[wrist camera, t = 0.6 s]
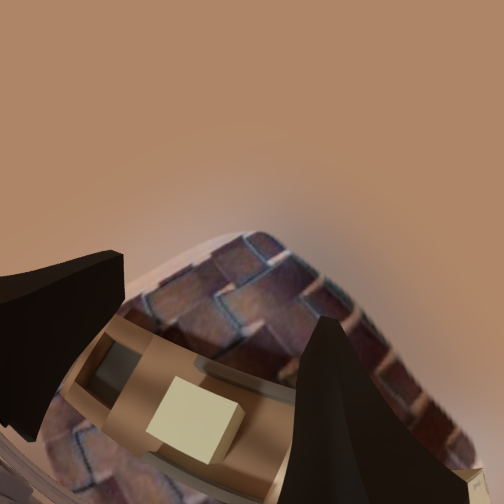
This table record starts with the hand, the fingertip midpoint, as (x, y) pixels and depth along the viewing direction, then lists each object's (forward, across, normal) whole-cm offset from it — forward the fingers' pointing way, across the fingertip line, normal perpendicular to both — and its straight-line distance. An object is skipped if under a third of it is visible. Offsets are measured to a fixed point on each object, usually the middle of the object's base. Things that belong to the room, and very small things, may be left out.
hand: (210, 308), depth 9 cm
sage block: (+4, 0, +16) cm, 17 cm away
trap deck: (+5, +1, +19) cm, 19 cm away
